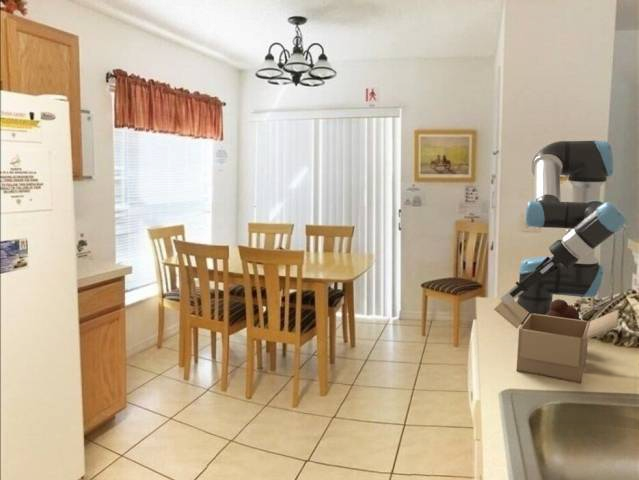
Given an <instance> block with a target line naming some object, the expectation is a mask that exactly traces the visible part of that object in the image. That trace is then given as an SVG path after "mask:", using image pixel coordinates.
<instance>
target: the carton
mask: <svg viewBox="0 0 639 480" xmlns="http://www.w3.org/2000/svg"><path fill="white" fill-rule="evenodd" d="M589 325H590V321H587V320H583V319H581V320H576V319H569V318H562V317H555V316H547V315H540V314H530V315H529V316H528V317H527V319H526V320H525V321H524V323H523V324H521V325H520V326H519V327H518V328H519V329H518V341H517V356H516V357H517V358H516V372H519V373H525V374H529V375H530V374H531V375H536V376H541V377H545V378H549V379H550V378H551V379H557V380H560V381H567V382H570V383H571V382H572V383H577V384H581V383H582V382H583V381H582V380H583V376H584V373H585V368H586V365H587V357H588V345H589V339H586V336H587V332H588V329H589Z"/></svg>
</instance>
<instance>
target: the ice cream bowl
mask: <svg viewBox="0 0 639 480" xmlns="http://www.w3.org/2000/svg"><path fill="white" fill-rule="evenodd" d="M546 315H547V316H555V317H562V318H569V319H576V320H582V318H580V313H579V311H578V310H577V309H576V307H574V306H573V305H569V304H568V303H567V301H565V300H563V299H559V298H557V299H555V300H552V303H551V304H550V311H548V312H547V314H546Z"/></svg>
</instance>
